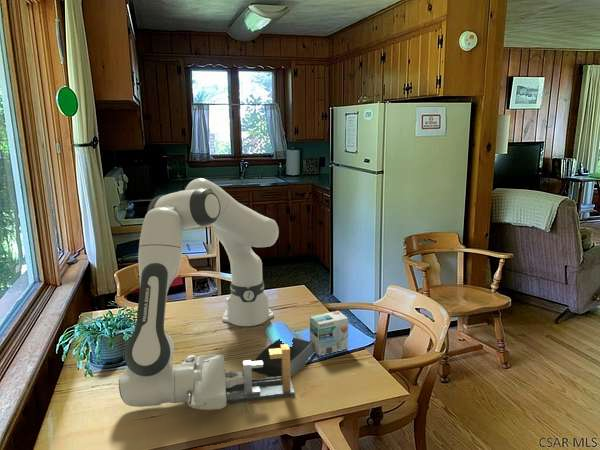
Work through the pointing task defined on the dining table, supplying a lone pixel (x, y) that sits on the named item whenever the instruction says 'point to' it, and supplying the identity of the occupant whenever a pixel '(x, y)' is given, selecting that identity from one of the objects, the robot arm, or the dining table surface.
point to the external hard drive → (273, 366)
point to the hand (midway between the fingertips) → (243, 377)
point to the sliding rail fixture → (267, 382)
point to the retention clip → (250, 376)
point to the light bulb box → (329, 332)
